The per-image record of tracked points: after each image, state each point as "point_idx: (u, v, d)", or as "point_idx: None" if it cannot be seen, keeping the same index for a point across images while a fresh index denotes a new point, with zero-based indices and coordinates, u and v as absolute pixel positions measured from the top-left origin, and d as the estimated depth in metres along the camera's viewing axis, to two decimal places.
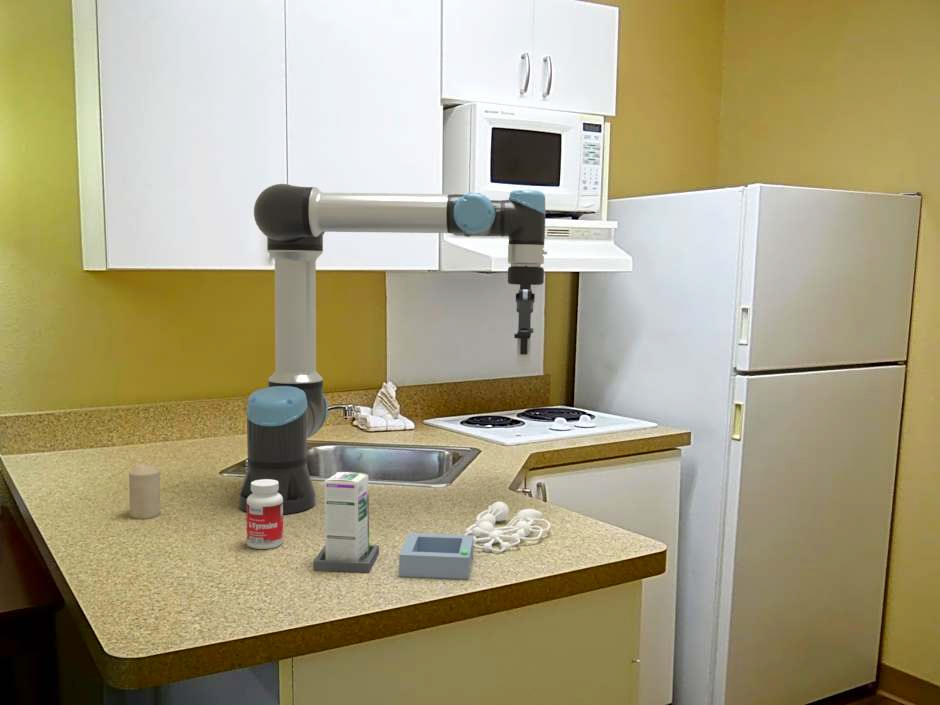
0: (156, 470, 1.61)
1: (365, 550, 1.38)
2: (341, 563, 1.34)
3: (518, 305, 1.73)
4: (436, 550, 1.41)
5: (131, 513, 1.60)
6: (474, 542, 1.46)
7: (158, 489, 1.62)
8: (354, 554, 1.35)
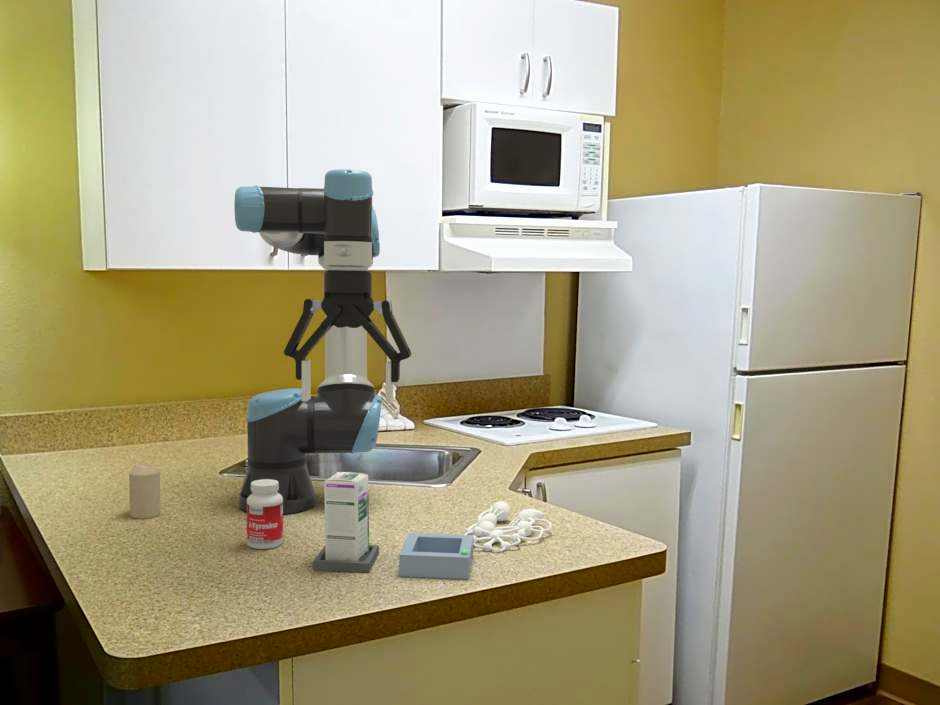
0: (156, 470, 1.61)
1: (365, 550, 1.38)
2: (341, 563, 1.34)
3: None
4: (436, 550, 1.41)
5: (131, 513, 1.60)
6: (474, 541, 1.47)
7: (158, 489, 1.62)
8: (354, 554, 1.35)
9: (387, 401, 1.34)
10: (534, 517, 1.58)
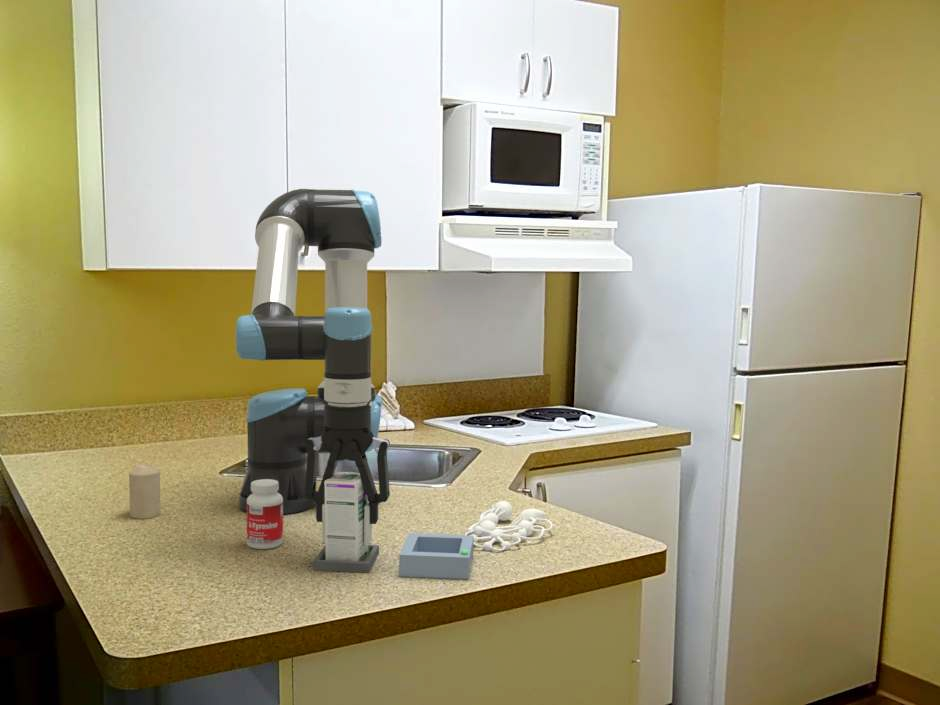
0: (156, 470, 1.61)
1: (365, 550, 1.38)
2: (341, 563, 1.34)
3: None
4: (436, 550, 1.41)
5: (131, 513, 1.60)
6: (475, 541, 1.47)
7: (158, 489, 1.62)
8: (354, 554, 1.35)
9: (366, 543, 1.37)
10: (536, 517, 1.59)
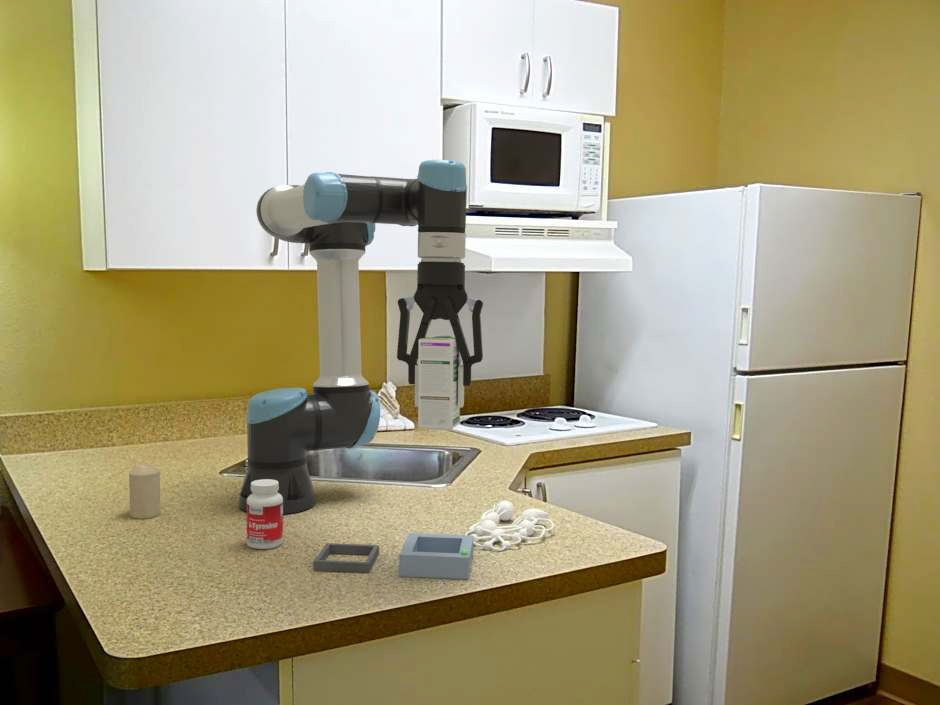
0: (156, 470, 1.61)
1: (457, 414, 1.35)
2: (341, 563, 1.34)
3: None
4: (436, 550, 1.41)
5: (131, 513, 1.60)
6: (475, 540, 1.47)
7: (158, 489, 1.62)
8: (448, 415, 1.32)
9: (459, 405, 1.33)
10: (537, 517, 1.59)
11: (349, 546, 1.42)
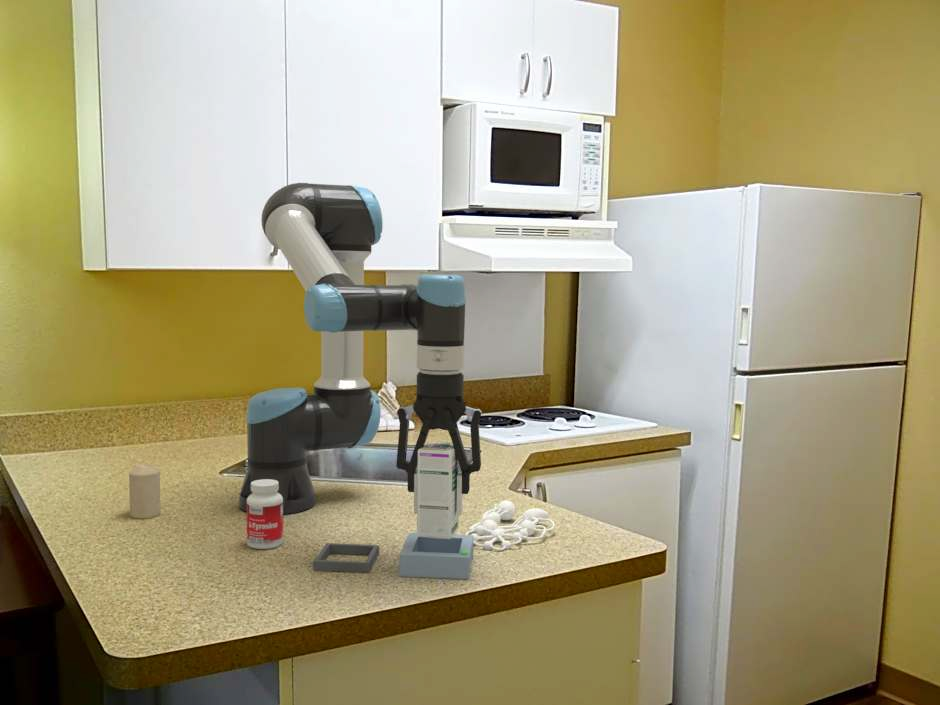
0: (156, 470, 1.61)
1: (455, 521, 1.37)
2: (341, 563, 1.34)
3: None
4: (436, 550, 1.41)
5: (131, 513, 1.60)
6: (475, 540, 1.48)
7: (158, 489, 1.62)
8: (447, 524, 1.34)
9: (458, 513, 1.35)
10: (538, 517, 1.59)
11: (349, 546, 1.42)
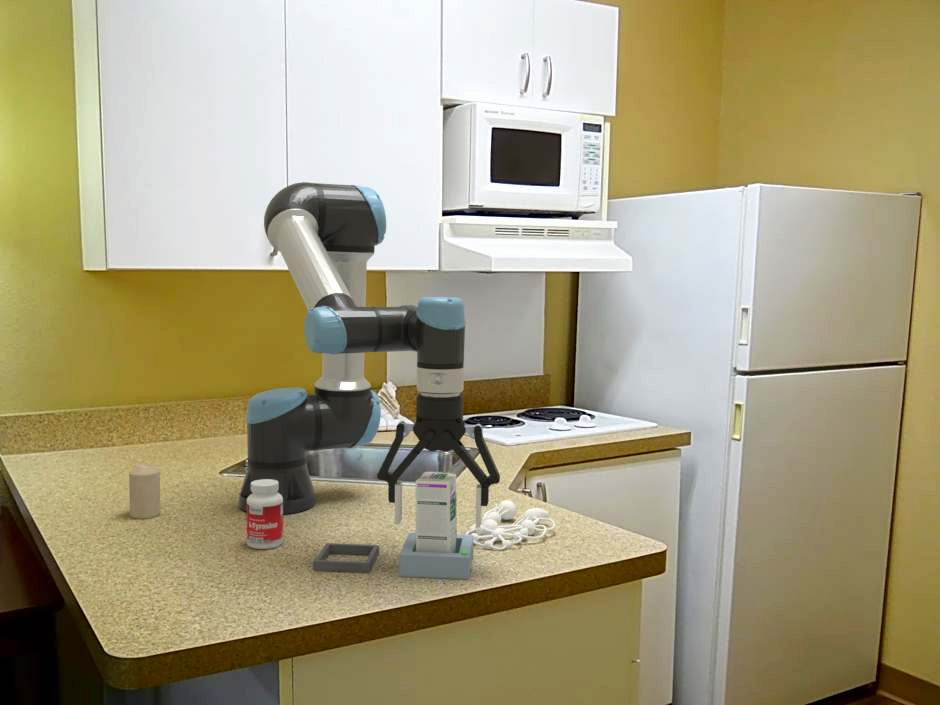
0: (156, 470, 1.61)
1: (454, 550, 1.37)
2: (341, 563, 1.34)
3: None
4: None
5: (131, 513, 1.60)
6: (476, 539, 1.48)
7: (158, 489, 1.62)
8: None
9: (477, 525, 1.35)
10: (539, 516, 1.59)
11: (349, 546, 1.42)
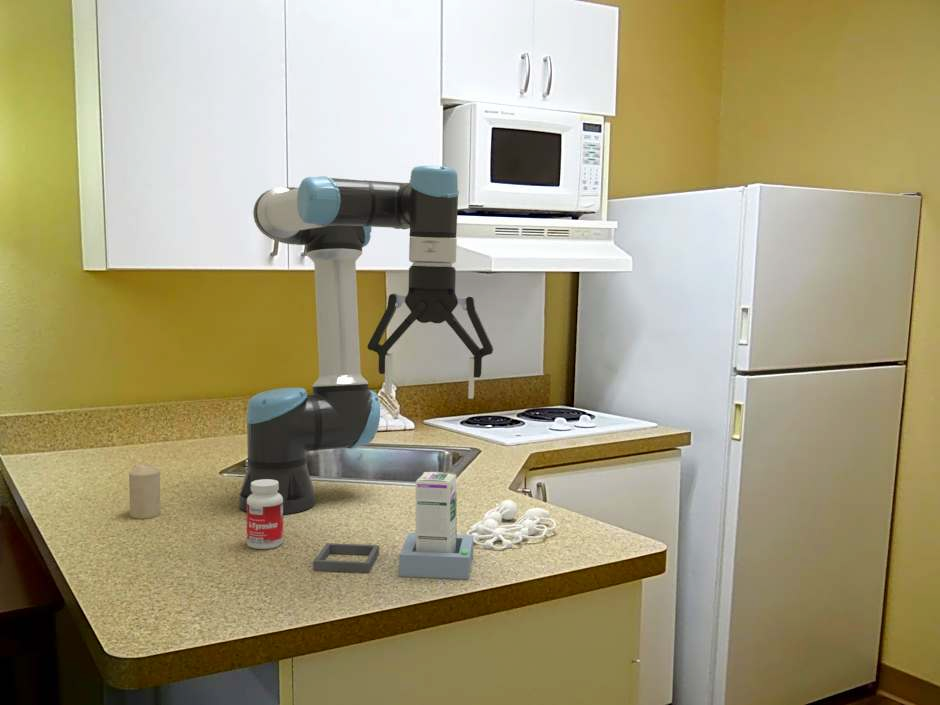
0: (156, 470, 1.61)
1: (454, 550, 1.37)
2: (341, 563, 1.34)
3: None
4: None
5: (131, 513, 1.60)
6: (476, 539, 1.48)
7: (158, 489, 1.62)
8: None
9: (470, 396, 1.35)
10: (540, 516, 1.59)
11: (349, 546, 1.42)
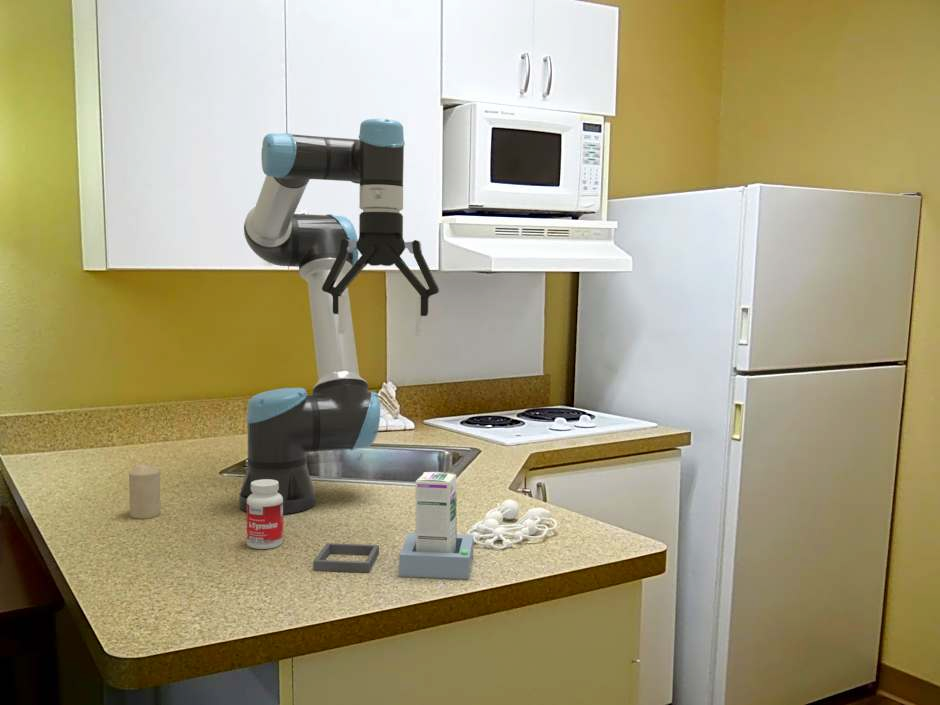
0: (156, 470, 1.61)
1: (454, 550, 1.37)
2: (341, 563, 1.34)
3: None
4: None
5: (131, 513, 1.60)
6: (476, 538, 1.48)
7: (158, 489, 1.62)
8: None
9: (417, 333, 1.46)
10: (541, 516, 1.59)
11: (349, 546, 1.42)
